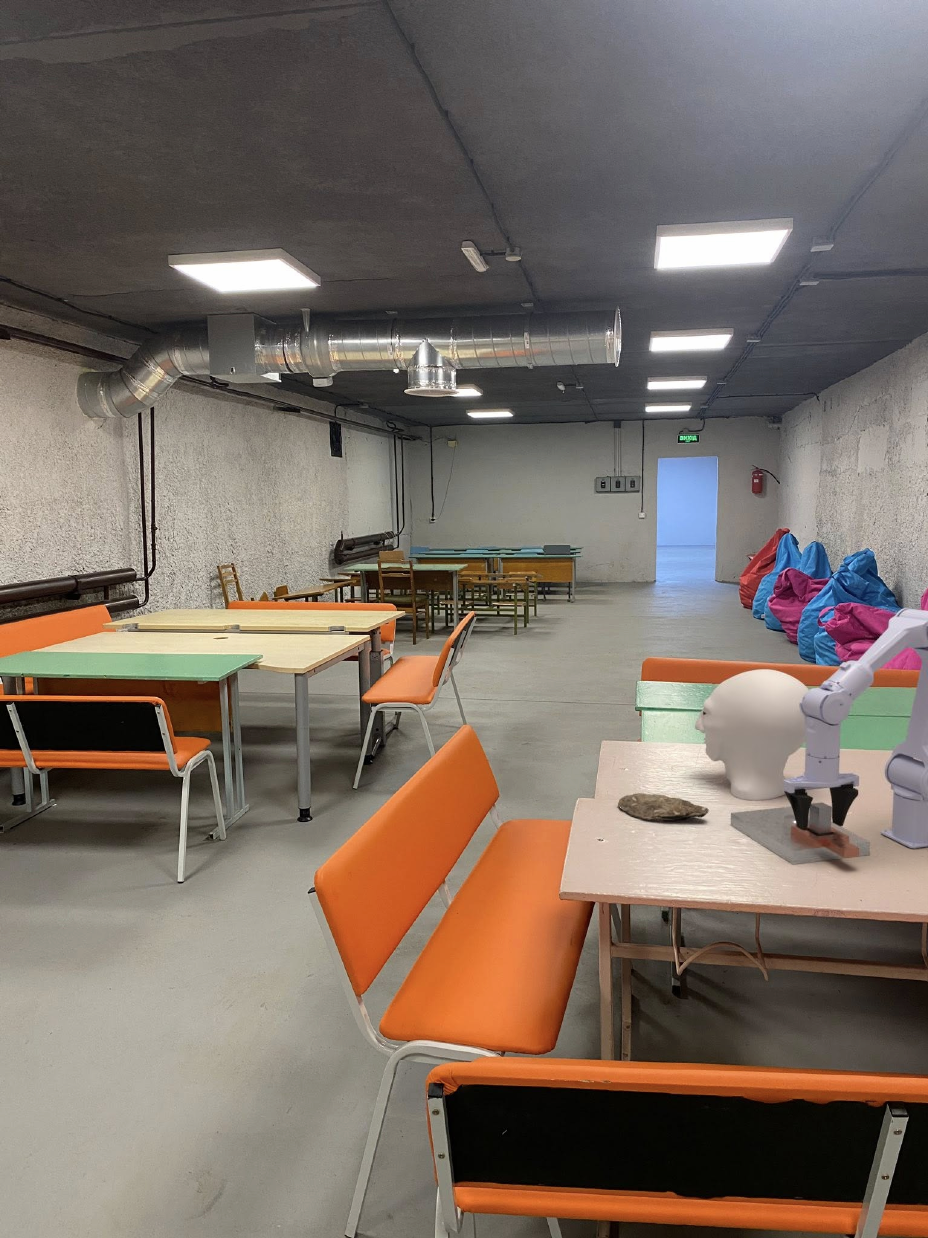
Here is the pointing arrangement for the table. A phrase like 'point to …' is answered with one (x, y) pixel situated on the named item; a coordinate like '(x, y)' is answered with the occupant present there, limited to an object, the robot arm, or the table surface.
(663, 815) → the rock
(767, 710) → the head sculpture
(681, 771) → the table surface
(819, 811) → the grey rectangular block
